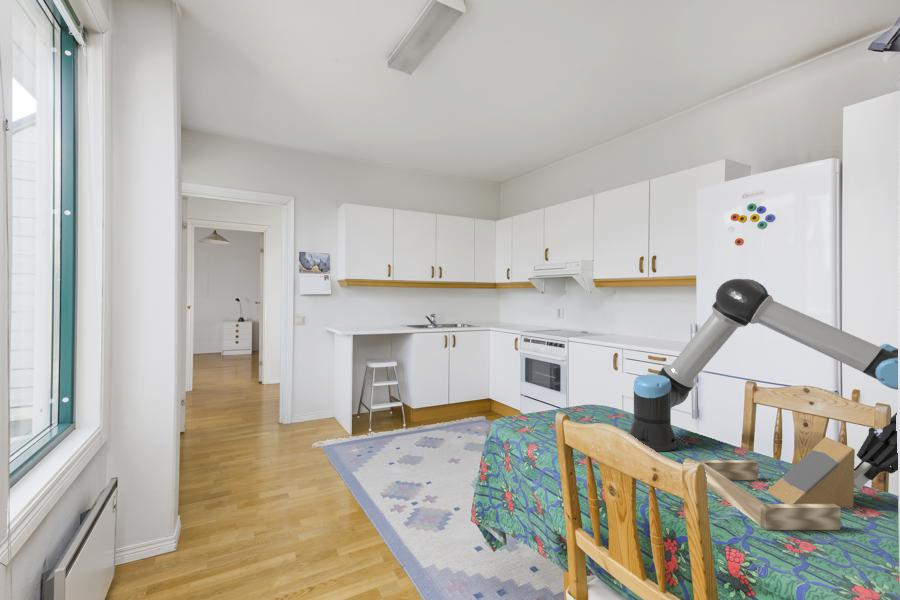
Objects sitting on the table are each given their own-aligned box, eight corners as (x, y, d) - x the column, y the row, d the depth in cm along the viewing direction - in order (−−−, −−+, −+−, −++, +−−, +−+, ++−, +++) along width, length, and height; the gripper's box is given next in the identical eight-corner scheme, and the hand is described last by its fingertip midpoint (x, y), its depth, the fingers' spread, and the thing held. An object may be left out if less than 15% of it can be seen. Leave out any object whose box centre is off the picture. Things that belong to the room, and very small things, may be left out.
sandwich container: (764, 490, 111) (765, 435, 111) (824, 492, 110) (825, 436, 110) (789, 507, 102) (789, 447, 102) (854, 508, 101) (855, 448, 101)
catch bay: (753, 477, 118) (753, 460, 118) (840, 529, 92) (840, 507, 92) (695, 477, 118) (695, 460, 118) (765, 530, 92) (766, 507, 92)
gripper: (960, 438, 99) (890, 508, 99) (901, 421, 112) (838, 483, 112) (939, 416, 98) (868, 486, 99) (881, 402, 111) (819, 463, 112)
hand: (853, 484), depth 105 cm, fingers closed
